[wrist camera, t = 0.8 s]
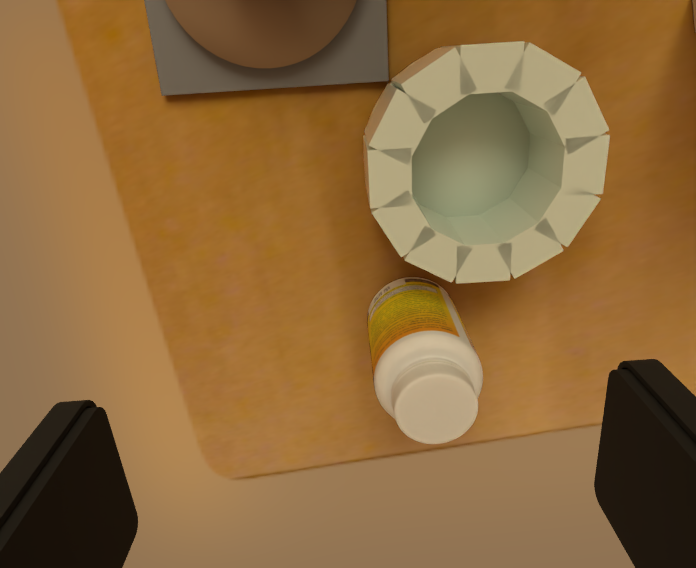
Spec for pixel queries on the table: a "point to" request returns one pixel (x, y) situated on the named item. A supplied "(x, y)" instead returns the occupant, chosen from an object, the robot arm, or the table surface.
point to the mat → (221, 75)
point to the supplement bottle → (423, 361)
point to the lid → (262, 28)
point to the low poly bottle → (694, 12)
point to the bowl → (484, 160)
